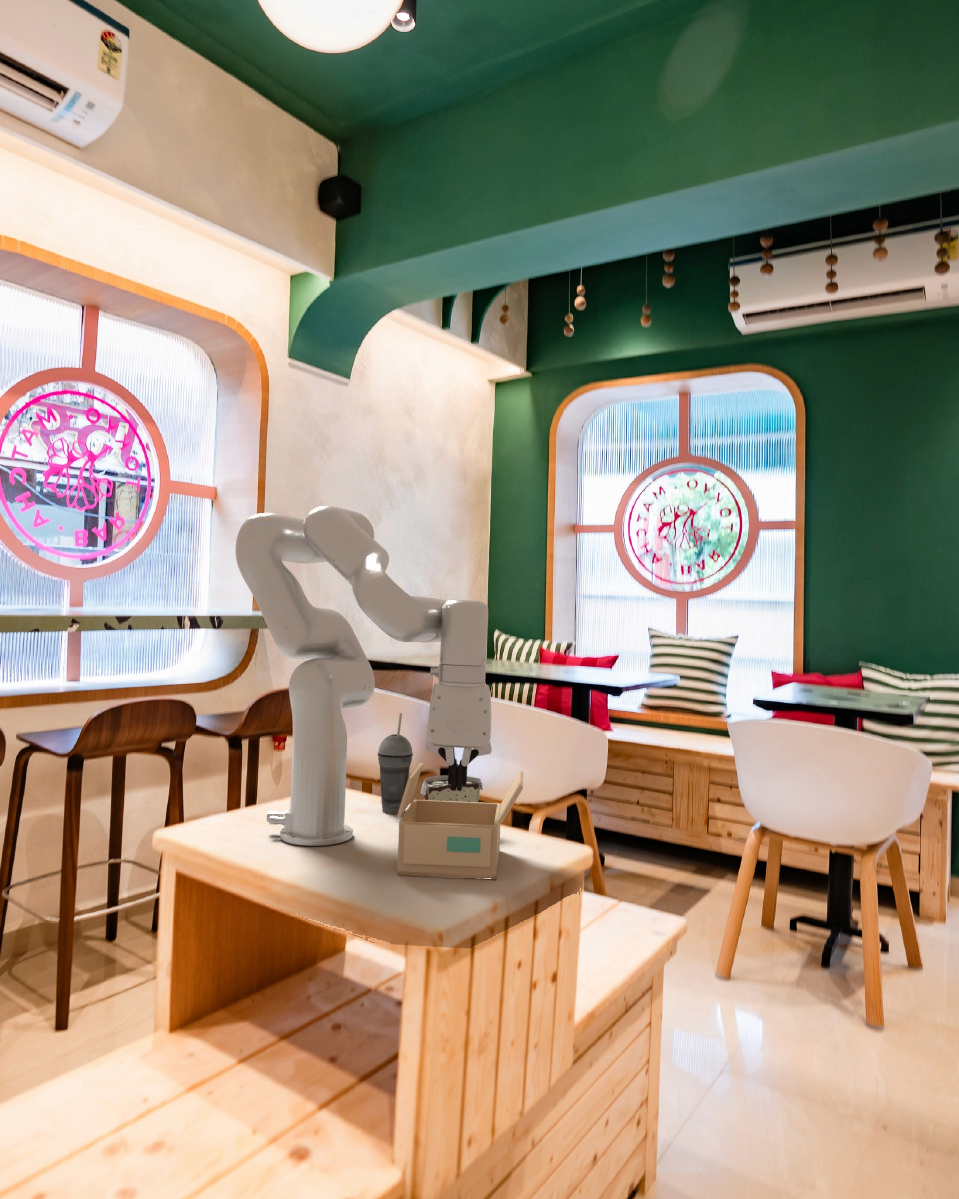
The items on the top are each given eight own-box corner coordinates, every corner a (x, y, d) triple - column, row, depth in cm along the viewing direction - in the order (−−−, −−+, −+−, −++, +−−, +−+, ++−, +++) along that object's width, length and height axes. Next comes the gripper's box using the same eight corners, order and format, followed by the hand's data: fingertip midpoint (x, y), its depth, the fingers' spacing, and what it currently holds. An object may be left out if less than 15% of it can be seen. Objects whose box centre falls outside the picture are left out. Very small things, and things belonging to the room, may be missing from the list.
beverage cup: (393, 805, 168) (396, 710, 169) (418, 811, 163) (421, 713, 164) (367, 811, 162) (371, 712, 163) (393, 817, 158) (396, 715, 158)
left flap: (399, 818, 123) (396, 817, 123) (412, 799, 136) (409, 798, 136) (411, 778, 123) (408, 777, 123) (423, 763, 137) (420, 762, 137)
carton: (396, 876, 121) (398, 823, 121) (412, 845, 138) (414, 798, 138) (495, 881, 120) (497, 827, 120) (499, 849, 137) (501, 802, 137)
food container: (463, 825, 153) (465, 772, 153) (481, 833, 148) (483, 778, 148) (406, 833, 146) (408, 778, 147) (423, 841, 141) (425, 784, 141)
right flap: (520, 786, 122) (523, 788, 122) (520, 770, 136) (523, 772, 136) (498, 822, 122) (501, 824, 122) (501, 803, 136) (503, 804, 136)
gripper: (413, 675, 127) (407, 791, 126) (507, 679, 126) (502, 797, 125) (419, 672, 134) (414, 782, 134) (508, 676, 133) (503, 787, 133)
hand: (456, 788), depth 129 cm, fingers closed
